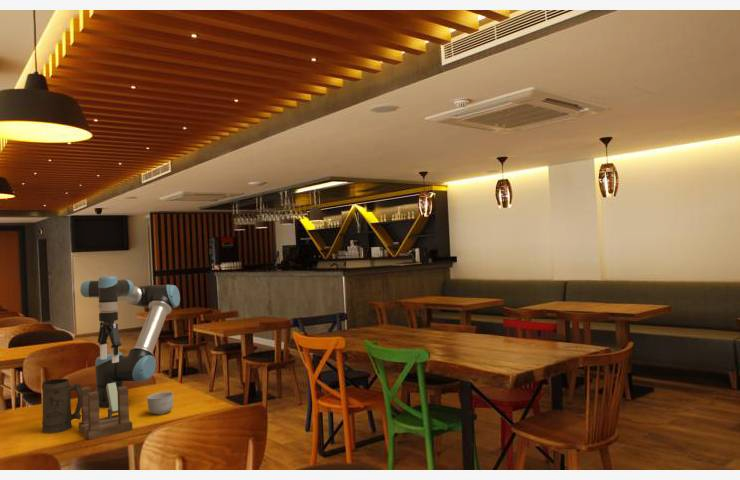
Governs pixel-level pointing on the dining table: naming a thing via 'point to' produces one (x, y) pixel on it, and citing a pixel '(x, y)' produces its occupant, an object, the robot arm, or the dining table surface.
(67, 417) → the beer stein
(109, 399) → the hinged leg
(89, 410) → the wooden stand
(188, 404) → the dining table surface
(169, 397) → the teacup
